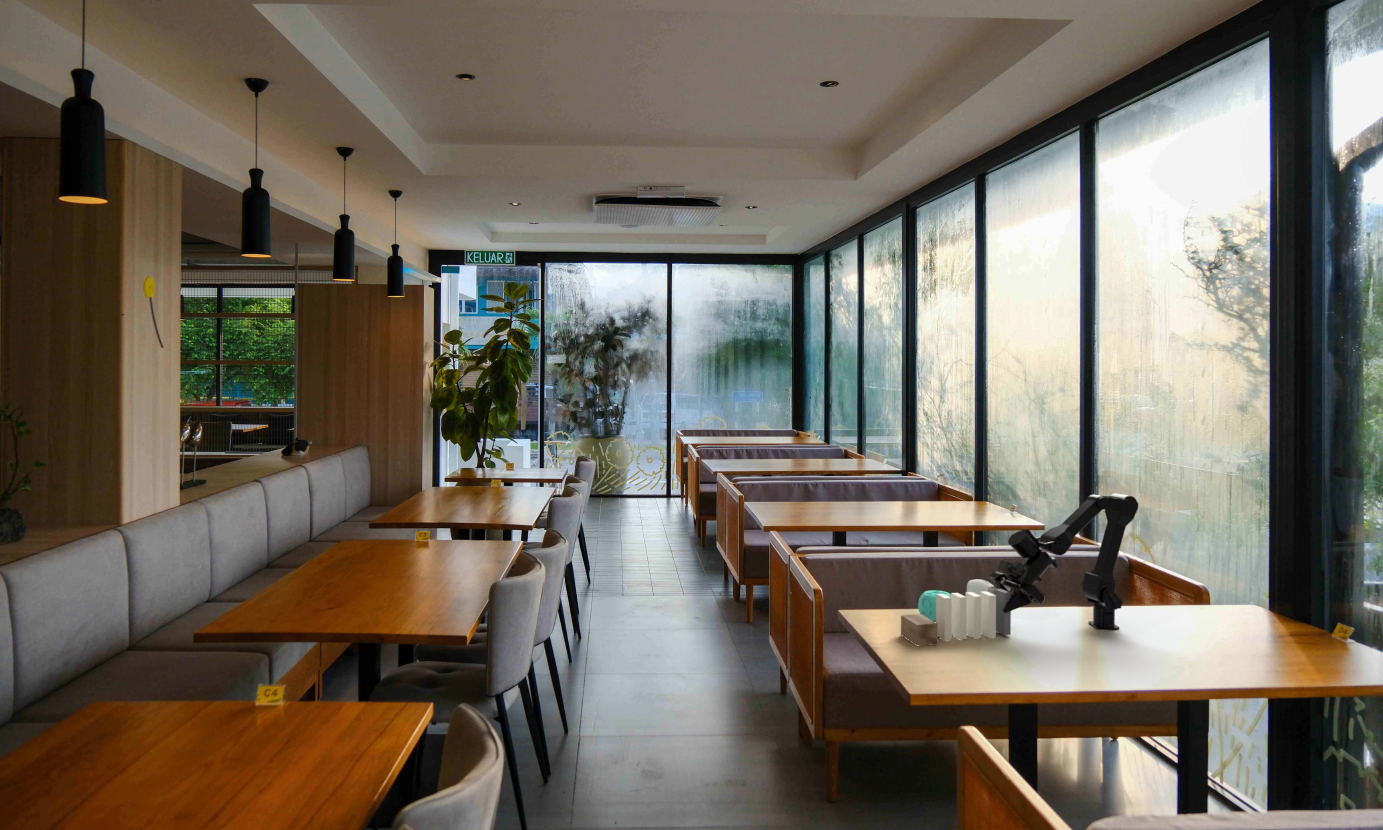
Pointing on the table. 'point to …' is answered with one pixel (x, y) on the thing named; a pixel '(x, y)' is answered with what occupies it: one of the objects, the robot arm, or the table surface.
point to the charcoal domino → (1002, 618)
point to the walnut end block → (919, 629)
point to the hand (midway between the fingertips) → (998, 609)
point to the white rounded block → (979, 586)
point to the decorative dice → (929, 604)
